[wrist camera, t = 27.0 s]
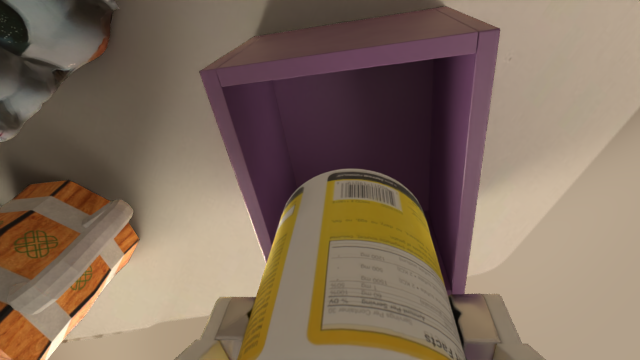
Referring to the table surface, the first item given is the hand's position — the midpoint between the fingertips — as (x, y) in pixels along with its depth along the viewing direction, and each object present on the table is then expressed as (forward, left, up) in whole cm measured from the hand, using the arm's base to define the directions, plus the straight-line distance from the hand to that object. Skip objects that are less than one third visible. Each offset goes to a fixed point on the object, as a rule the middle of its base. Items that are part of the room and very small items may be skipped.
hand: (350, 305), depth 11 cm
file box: (0, +2, -18) cm, 18 cm away
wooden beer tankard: (+30, +9, -18) cm, 36 cm away
